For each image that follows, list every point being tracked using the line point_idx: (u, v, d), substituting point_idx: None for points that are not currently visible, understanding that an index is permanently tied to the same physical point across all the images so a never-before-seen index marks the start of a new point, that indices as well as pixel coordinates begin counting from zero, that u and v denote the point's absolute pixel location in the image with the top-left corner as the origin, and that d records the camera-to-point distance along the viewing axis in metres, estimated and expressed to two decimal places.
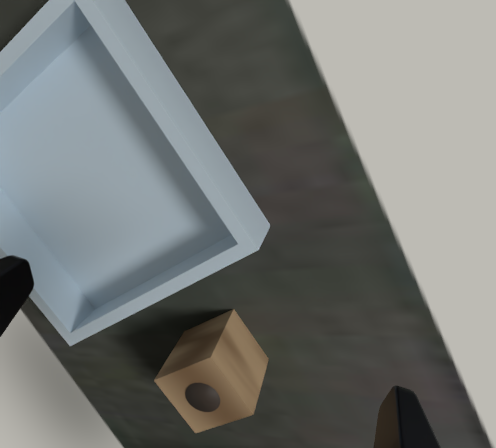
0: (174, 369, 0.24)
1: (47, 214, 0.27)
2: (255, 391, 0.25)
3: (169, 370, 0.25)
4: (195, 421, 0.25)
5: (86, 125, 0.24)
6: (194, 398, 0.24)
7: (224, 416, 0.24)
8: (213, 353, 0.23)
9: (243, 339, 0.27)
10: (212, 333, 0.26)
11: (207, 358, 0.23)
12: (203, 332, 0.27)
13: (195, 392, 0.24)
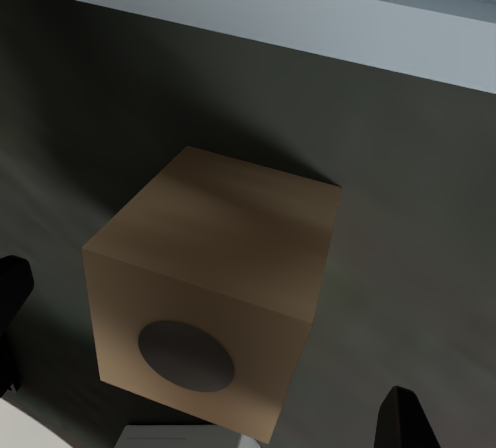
0: (162, 265, 0.08)
1: None
2: None
3: (143, 251, 0.08)
4: (120, 370, 0.10)
5: None
6: (162, 347, 0.09)
7: (199, 406, 0.10)
8: (315, 309, 0.07)
9: None
10: (288, 218, 0.09)
11: (296, 317, 0.07)
12: (253, 193, 0.10)
13: (178, 340, 0.08)
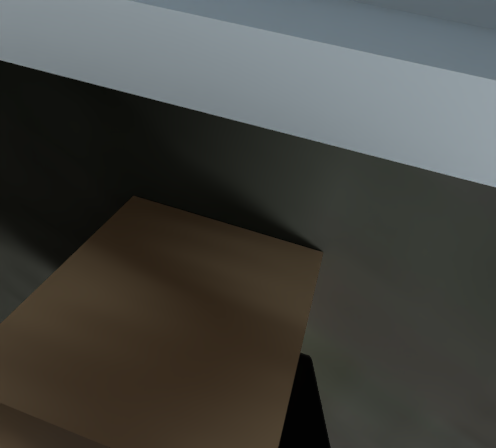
0: (56, 405, 0.05)
1: None
2: None
3: (33, 380, 0.06)
4: None
5: None
6: None
7: None
8: None
9: None
10: (248, 309, 0.07)
11: None
12: (206, 268, 0.08)
13: None
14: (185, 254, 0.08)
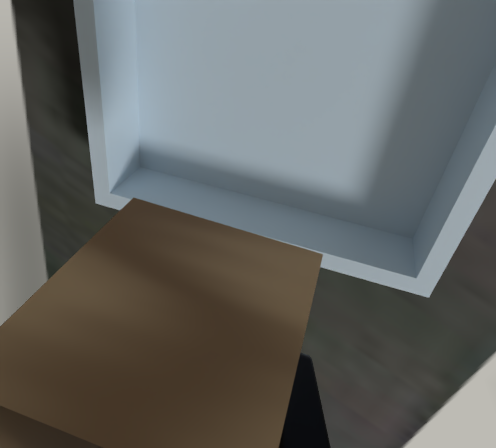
0: (56, 408, 0.05)
1: (177, 18, 0.16)
2: None
3: (33, 383, 0.06)
4: None
5: None
6: None
7: None
8: None
9: None
10: (248, 311, 0.07)
11: None
12: (207, 271, 0.08)
13: None
14: (185, 256, 0.08)
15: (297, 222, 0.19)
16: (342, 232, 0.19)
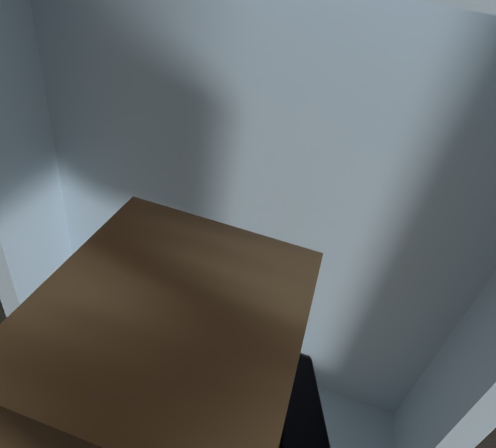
0: (54, 407, 0.05)
1: (106, 171, 0.13)
2: None
3: (32, 382, 0.06)
4: None
5: (326, 145, 0.11)
6: None
7: None
8: None
9: None
10: (248, 310, 0.07)
11: None
12: (206, 269, 0.08)
13: None
14: (184, 255, 0.08)
15: None
16: None
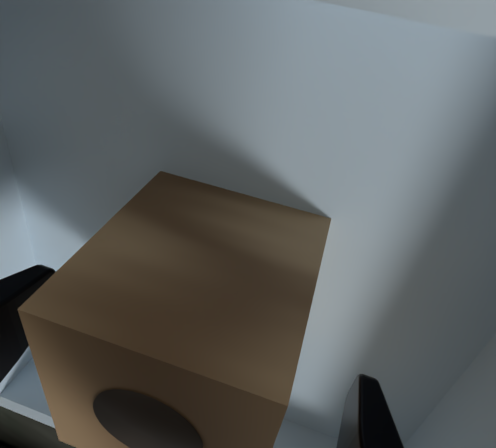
0: (113, 329, 0.06)
1: (72, 199, 0.12)
2: None
3: (91, 311, 0.07)
4: (78, 432, 0.09)
5: (314, 178, 0.09)
6: (120, 415, 0.07)
7: None
8: (292, 384, 0.06)
9: None
10: (267, 261, 0.08)
11: (269, 397, 0.06)
12: (229, 230, 0.09)
13: (137, 409, 0.07)
14: (210, 218, 0.09)
15: None
16: None
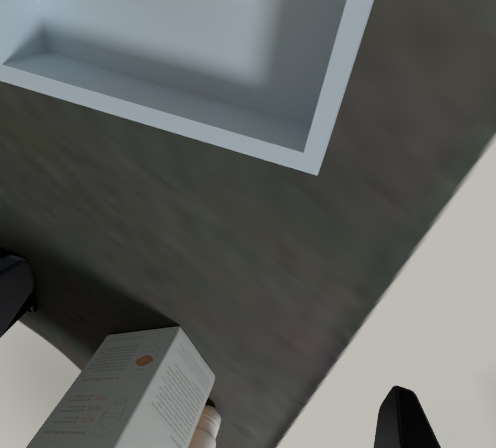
0: None
1: None
2: None
3: None
4: None
5: None
6: None
7: None
8: None
9: None
10: None
11: None
12: None
13: None
14: None
15: (196, 104, 0.18)
16: (241, 115, 0.18)
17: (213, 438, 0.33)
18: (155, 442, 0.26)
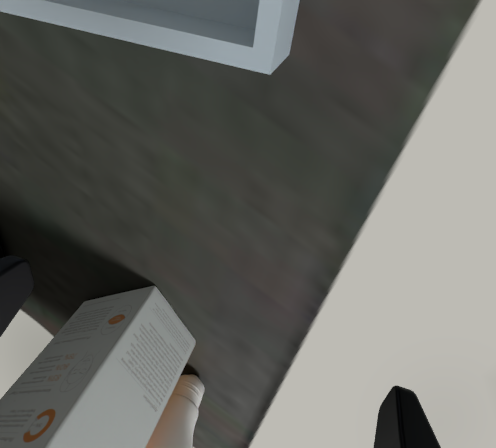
0: None
1: None
2: None
3: None
4: None
5: None
6: None
7: None
8: None
9: None
10: None
11: None
12: None
13: None
14: None
15: (143, 12, 0.17)
16: (191, 21, 0.17)
17: (195, 406, 0.32)
18: (126, 400, 0.25)
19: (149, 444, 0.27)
